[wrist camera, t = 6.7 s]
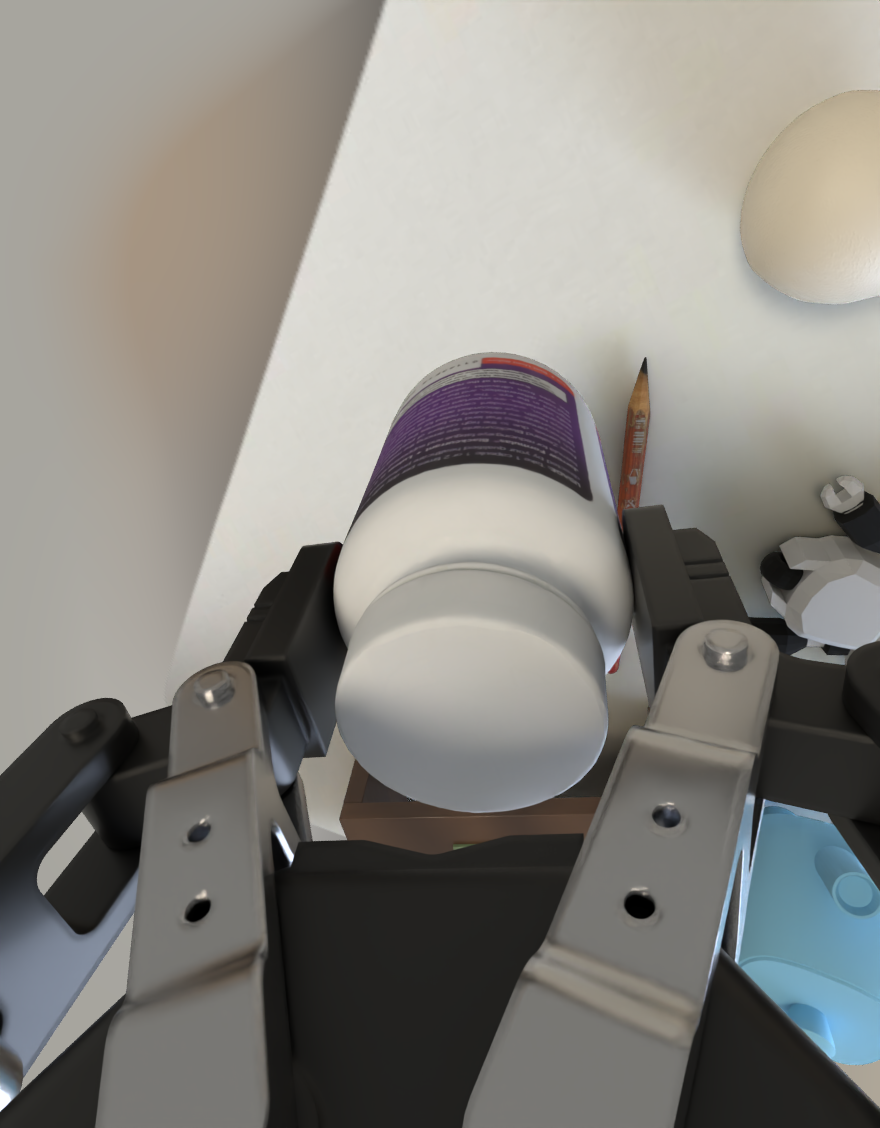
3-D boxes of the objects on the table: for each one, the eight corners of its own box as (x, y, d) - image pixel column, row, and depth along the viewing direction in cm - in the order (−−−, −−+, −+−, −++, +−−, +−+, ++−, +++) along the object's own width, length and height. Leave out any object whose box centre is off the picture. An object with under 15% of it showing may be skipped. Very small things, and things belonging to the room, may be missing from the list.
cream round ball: (847, 309, 30) (919, 354, 24) (693, 251, 29) (731, 284, 24) (958, 134, 26) (1073, 141, 21) (784, 65, 26) (854, 53, 20)
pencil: (617, 665, 42) (619, 676, 41) (600, 664, 42) (601, 675, 41) (655, 353, 32) (658, 360, 31) (631, 354, 32) (634, 360, 31)
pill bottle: (349, 433, 18) (208, 692, 10) (514, 299, 16) (504, 493, 8) (476, 571, 20) (445, 880, 12) (639, 469, 18) (736, 764, 10)
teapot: (921, 982, 47) (932, 1185, 39) (672, 889, 54) (636, 1045, 46) (1040, 802, 36) (1093, 1034, 28) (707, 712, 43) (668, 877, 34)
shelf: (401, 829, 54) (382, 934, 47) (365, 720, 47) (337, 822, 41) (667, 825, 50) (689, 937, 43) (667, 705, 44) (692, 815, 37)
